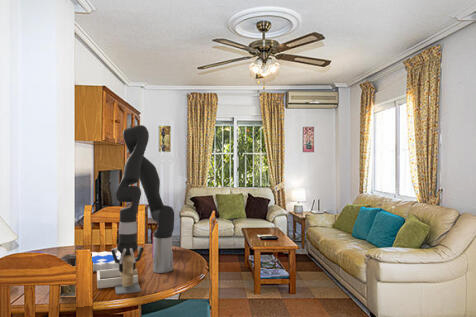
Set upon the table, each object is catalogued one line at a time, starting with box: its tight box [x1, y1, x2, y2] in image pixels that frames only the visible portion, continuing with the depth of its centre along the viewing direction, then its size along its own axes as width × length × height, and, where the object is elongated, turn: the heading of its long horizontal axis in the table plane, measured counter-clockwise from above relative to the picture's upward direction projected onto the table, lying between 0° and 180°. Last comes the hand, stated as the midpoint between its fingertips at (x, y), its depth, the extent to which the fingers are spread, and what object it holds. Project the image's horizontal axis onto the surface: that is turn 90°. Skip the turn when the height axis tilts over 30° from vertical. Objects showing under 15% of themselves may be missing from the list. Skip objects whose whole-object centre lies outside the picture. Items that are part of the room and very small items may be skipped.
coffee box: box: [59, 253, 76, 297], centre depth 143 cm, size 9×6×16 cm
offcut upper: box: [119, 268, 138, 277], centre depth 162 cm, size 4×7×2 cm, turn 81°
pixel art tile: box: [91, 250, 121, 272], centre depth 187 cm, size 28×4×28 cm
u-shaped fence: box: [96, 268, 139, 289], centre depth 160 cm, size 17×15×4 cm
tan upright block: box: [120, 255, 133, 287], centre depth 150 cm, size 4×10×12 cm, turn 22°
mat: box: [114, 282, 142, 295], centre depth 150 cm, size 10×10×1 cm
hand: (127, 271), depth 150 cm, fingers closed on tan upright block, 4 cm apart
